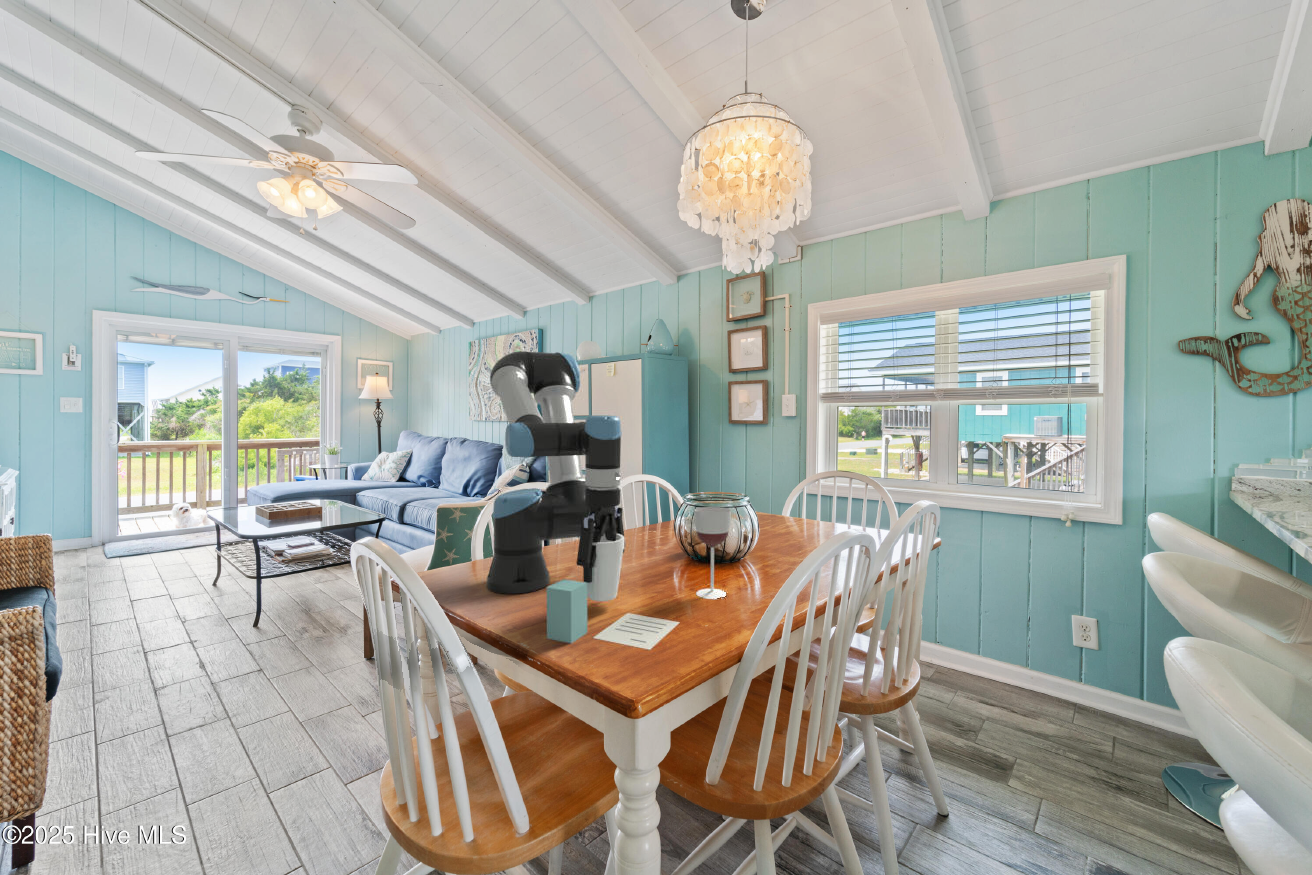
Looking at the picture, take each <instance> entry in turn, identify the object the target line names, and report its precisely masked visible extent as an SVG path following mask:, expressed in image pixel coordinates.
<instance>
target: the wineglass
mask: <svg viewBox="0 0 1312 875" xmlns="http://www.w3.org/2000/svg"><path fill="white" fill-rule="evenodd" d="M693 511H694V513H693V514H694V524H695V530H696V531H695V532H696V535H697V537H698V540H699V541H700V542H701V543H702V544H704V545H707V546H709V547H710V588H701V589H698V590H697V591H696V593H695V594H696V596H698V597H700V598H702V597H703V599H705V600H706V599H707V600H718V599H717V598H720V597H725V596H726V592H727V591H726V592H724V591H725V590H723V589H719V588H715V587H714V586H715V585H714V583H715V548H716V547H717V546H719V545H720V544H721V543H724V542H725V541H726V539H727V538H728V536H729V532H730V526H731V520H732V518H731V517H732V509H731V508H727V507H721V506H720V507H719V506H703V507H698V508H695V509H694V510H693ZM722 590H723V591H722ZM725 598H726V597H725Z"/></svg>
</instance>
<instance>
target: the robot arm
mask: <svg viewBox="0 0 1312 875" xmlns="http://www.w3.org/2000/svg"><path fill="white" fill-rule="evenodd" d="M580 377H581V372H580V368H579V364H578V362H577V360H576V358H574V357H573V355H571V354H568V353H561V352H540V351H539V352H538V351H536V352H535V351H525V350H524V351H513V352H511V353H508V354H506V355H504V356H502V357H501V358H500V359H499V360H497V362H496V363H495V364H494V365H493V367H492V369H491V371H490V375H489V381H490V386H491V389H492V391H493V393H494V394H496V396H498V397H499V399H500V402H501V405H502V407H503V410H504V413H505V415H506V419H507V422H508V424H507V426H506V429H505V437H504V440H505V449H506V453H507V455H508V456H510V457H512V458H523V459H524V458H525V459H528V458H540V457H541V458H542V457H544V458H545V457H547V463H548V472H549V479H550V480H549V481H550V483H549V484H548V485H547V487H546V488H545V493H543V491H542V490H541V489H540V488H536V487H535V488H522V489H517V490H512V491H511V490H510V491H507V492H504V493H501V494H500V495H498V496H496V498H495V499H494V501H493V511H492V518H493V557H492V560H491V563H490V567H489V570H488V574H487V576H486V589H488V590H489V591H491V592H494V593H499V594H507V595H508V594H511V595H512V594H515V595H516V594H524V593H531V592H535V591H539V590H542V589H543V588H545V587H546V588H547V587H548V585H549V584H550V572H549V570H548V568H547V563H546V561H545V557H544V554H543V541H553V540H561V539H572V538H578V539H579V542H578V549H577V557H576V566H580V567H582V568H583V569H582V570H583V572H582V573H583V576H582V580H583V581H582V582H585V583H587V598H588V597H593V598H595V597H596V585H597V566H594V564H595V560H596V556H597V554H596V545H592V542H594V543H598V542H600V540H601V537H602V536H603V535H604V533H605V536H606V539H607V540H609V541H616V534H617V533H618V534H620V535H623V536H624V549H623V554H624V553H625V548H626V539H625V533H624V532H625V530H624V523H623V507H619V505H620V503H621V489H620V488H619V486H620V485H621V476H622V473H621V446H622V445H621V443H622V441H621V438H622V430H621V429H622V428H621V419H620V418H619V417H618V416H617V415H609V414H608V415H597V414H595V415H594V414H593V415H588V416H587V417H586V418H585V421H579V422H575V416H574V410H573V404H572V402H573V400H574V399H575V398H576V394H577V393H578V392H579V390H580V386H581V378H580ZM532 394H533V395H532ZM536 403H537V404H539V405H540V410H541V413H540V411H539V409H538V407H537V404H536ZM581 456H585V468H584V470H585V471H584V473H585V474H584V475H583V470H582V469H583V468H582V464H581V462H582V461H581ZM620 577H621V576H619V578H620Z"/></svg>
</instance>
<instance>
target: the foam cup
mask: <svg viewBox="0 0 1312 875" xmlns="http://www.w3.org/2000/svg"><path fill="white" fill-rule="evenodd" d="M624 538H625V535H624V536H623V535H620V534H618V533H617V534H616V541H609V540H607V539H606V536H605V533H604V535H603V536H602V537H601V540H600V542H598V543H594V542H592V545H596V554H597V556H596V560H595V564H594V566H597V585H596V597H595V598H593V597H587V599H589V600H591V601H594V602H609V601H612V600H614V599H616V597H617V594H618V590H619V583H620V577H621V576H620V575H621V570H622V568H621V567H622V560H623V554H624V553H623V549H624V550H625V548H624ZM619 576H620V577H619Z"/></svg>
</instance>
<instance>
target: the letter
mask: <svg viewBox="0 0 1312 875" xmlns="http://www.w3.org/2000/svg"><path fill="white" fill-rule="evenodd" d="M679 624H680V621H674V620H668V619H663V618H657V617H650V616H645V615H640V614H635V613H630V612H627V613H626V614H624V615H623V616H622V617H620V618H619V619H617V620H616V621H614V622H613V623H612V624H610V625H609V626H607V627H606V628H604V629H603V630H602V631H600V632H599V633H597V634H596V635H595V636H593V637H592V639H596V640H601V641H606V642H611V643H616V644H621V645H624V646H629V647H635V648H640V649H645V650H649V651H650V650H652V649H653V647H655V646H656V645H657V644H658V643H659V642H660V641H662V639H664V638H665V637H666V636H667V635H668V634H669V633H670V632H672V631H673V629H674V628H676V627H677V626H678V625H679Z"/></svg>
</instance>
